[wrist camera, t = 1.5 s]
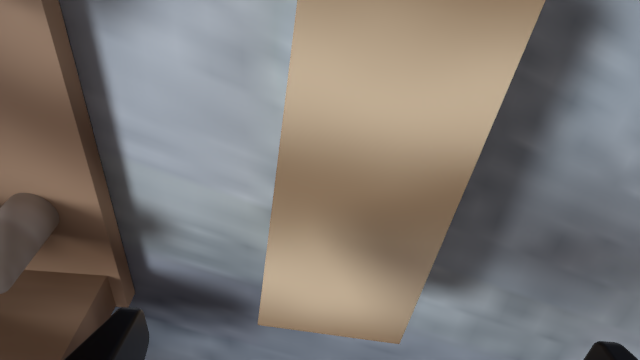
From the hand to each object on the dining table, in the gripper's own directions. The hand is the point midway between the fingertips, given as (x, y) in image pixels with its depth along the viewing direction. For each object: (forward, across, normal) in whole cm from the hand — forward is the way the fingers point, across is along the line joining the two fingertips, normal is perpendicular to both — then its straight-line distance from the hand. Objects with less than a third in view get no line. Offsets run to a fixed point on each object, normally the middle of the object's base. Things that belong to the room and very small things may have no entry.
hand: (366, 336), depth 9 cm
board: (+8, 0, 0) cm, 8 cm away
